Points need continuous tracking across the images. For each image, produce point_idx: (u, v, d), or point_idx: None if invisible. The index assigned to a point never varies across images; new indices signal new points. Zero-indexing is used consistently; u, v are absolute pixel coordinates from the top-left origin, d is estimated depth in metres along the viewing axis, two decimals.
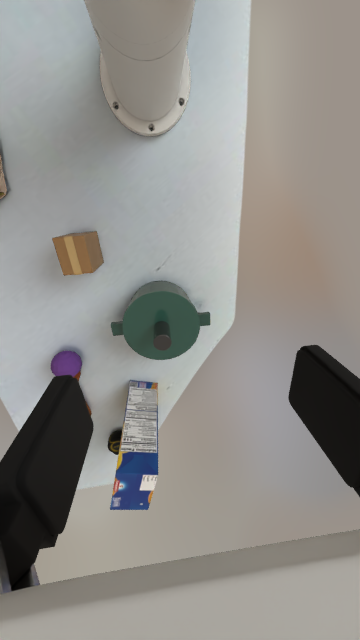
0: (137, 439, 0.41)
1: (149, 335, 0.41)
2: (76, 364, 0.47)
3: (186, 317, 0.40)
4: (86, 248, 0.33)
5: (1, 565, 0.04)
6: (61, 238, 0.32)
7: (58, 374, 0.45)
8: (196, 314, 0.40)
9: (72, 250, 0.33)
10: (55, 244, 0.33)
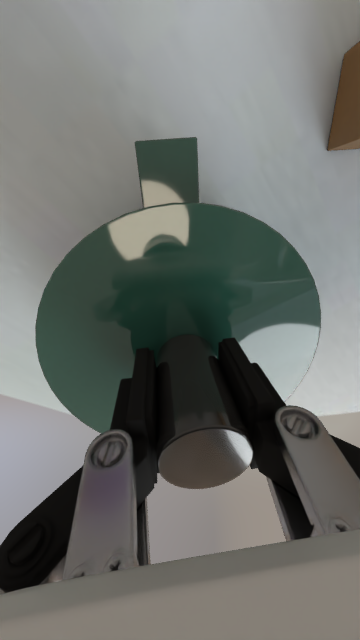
0: None
1: (155, 319, 0.10)
2: None
3: None
4: None
5: (134, 504, 0.05)
6: None
7: None
8: None
9: None
10: None
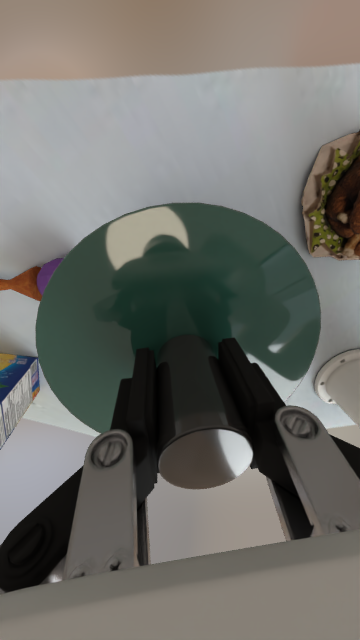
0: None
1: (155, 319, 0.10)
2: None
3: None
4: None
5: (134, 504, 0.05)
6: None
7: None
8: None
9: None
10: None
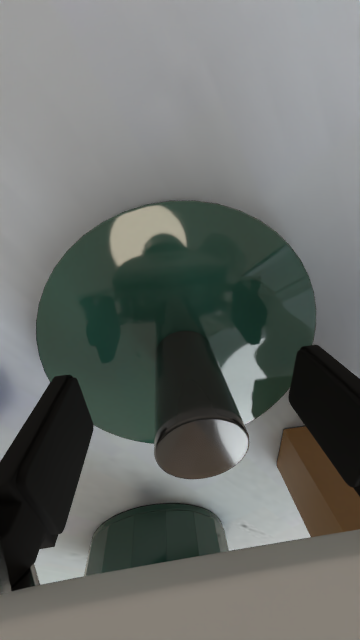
0: None
1: (154, 315, 0.10)
2: None
3: None
4: None
5: (1, 565, 0.04)
6: None
7: None
8: None
9: None
10: None
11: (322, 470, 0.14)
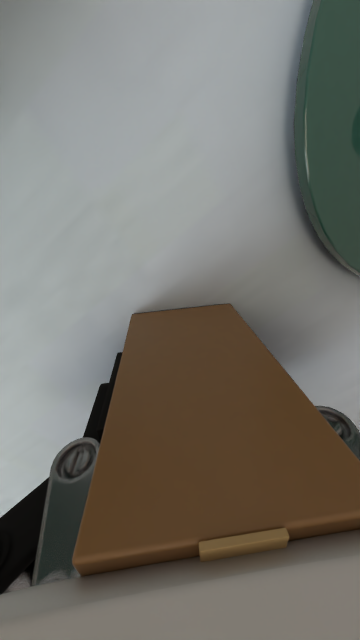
0: None
1: None
2: None
3: None
4: None
5: None
6: None
7: None
8: (314, 156, 0.07)
9: None
10: None
11: None
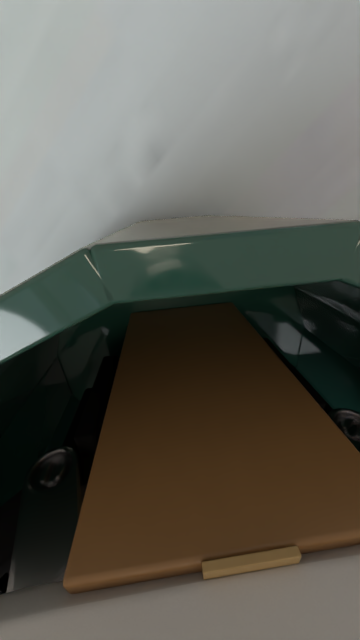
0: None
1: None
2: None
3: None
4: None
5: None
6: None
7: None
8: None
9: None
10: None
11: None
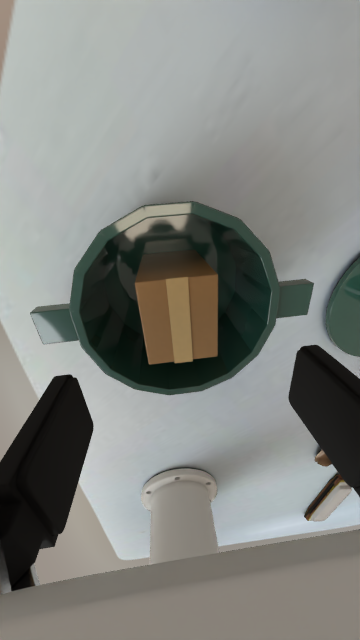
0: None
1: None
2: None
3: (349, 320, 0.23)
4: (146, 339, 0.14)
5: (1, 565, 0.04)
6: (197, 356, 0.14)
7: None
8: (332, 325, 0.23)
9: (179, 336, 0.14)
10: (214, 345, 0.14)
11: None
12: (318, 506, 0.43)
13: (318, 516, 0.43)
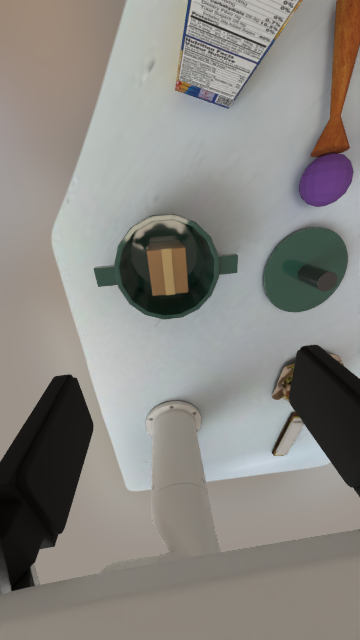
0: None
1: (321, 264, 0.36)
2: (310, 187, 0.28)
3: (277, 285, 0.37)
4: (151, 281, 0.28)
5: (1, 565, 0.04)
6: (177, 292, 0.28)
7: (346, 175, 0.27)
8: (266, 288, 0.37)
9: (168, 279, 0.28)
10: (186, 285, 0.28)
11: None
12: (280, 441, 0.56)
13: (281, 449, 0.56)
